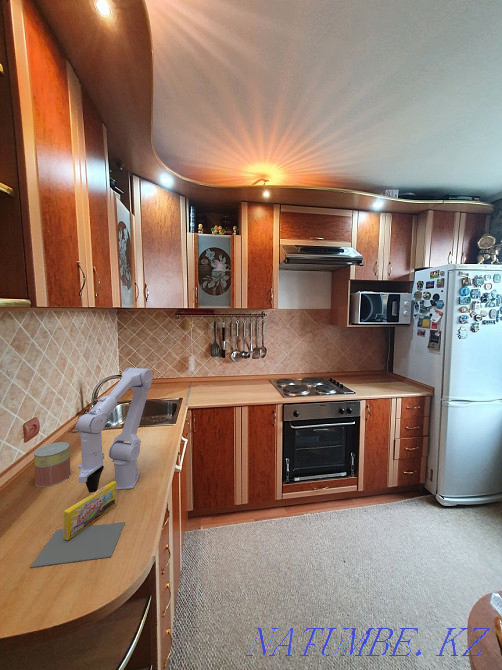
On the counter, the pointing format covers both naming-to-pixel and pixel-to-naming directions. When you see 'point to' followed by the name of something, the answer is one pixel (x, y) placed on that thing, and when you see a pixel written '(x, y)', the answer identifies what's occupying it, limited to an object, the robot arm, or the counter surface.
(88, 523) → the candy box
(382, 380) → the counter surface
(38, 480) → the canned food
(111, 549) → the mat
